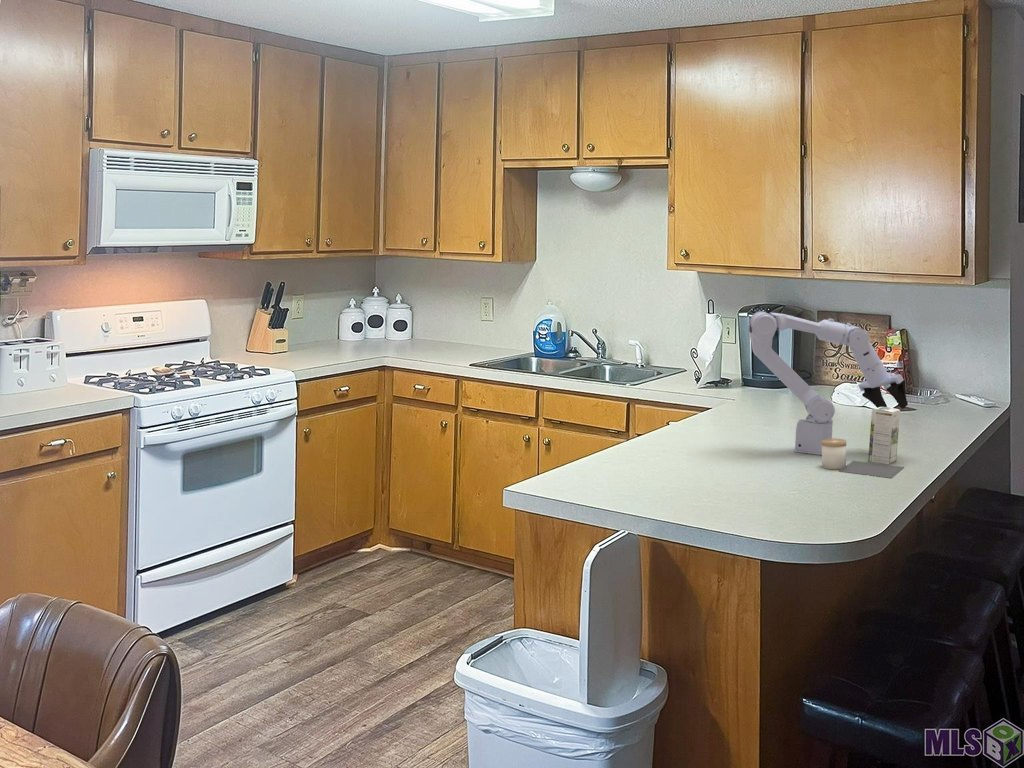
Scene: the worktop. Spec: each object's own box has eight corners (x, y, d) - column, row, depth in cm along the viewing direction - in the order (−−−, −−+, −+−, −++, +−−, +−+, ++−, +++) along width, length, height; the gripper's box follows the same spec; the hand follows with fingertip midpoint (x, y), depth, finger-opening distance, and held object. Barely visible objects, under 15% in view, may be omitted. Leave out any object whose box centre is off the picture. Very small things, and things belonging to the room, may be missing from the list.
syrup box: (875, 458, 269) (878, 406, 267) (897, 461, 266) (900, 408, 263) (867, 462, 265) (870, 408, 263) (890, 465, 261) (893, 411, 259)
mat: (838, 472, 254) (838, 470, 254) (853, 461, 265) (853, 460, 265) (891, 479, 247) (891, 477, 246) (904, 468, 258) (904, 467, 258)
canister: (818, 468, 258) (818, 441, 257) (825, 463, 263) (825, 437, 262) (842, 470, 254) (842, 443, 254) (849, 465, 260) (849, 439, 259)
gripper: (899, 354, 267) (923, 397, 268) (861, 363, 280) (884, 404, 281) (883, 367, 264) (907, 410, 265) (845, 375, 277) (868, 417, 278)
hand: (894, 408), depth 273 cm, fingers open, 7 cm apart
